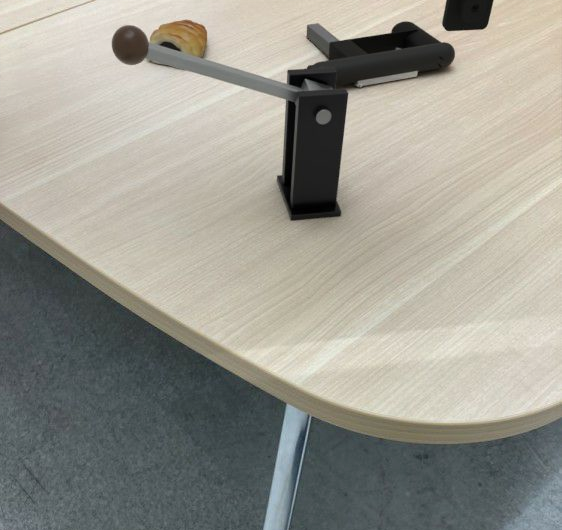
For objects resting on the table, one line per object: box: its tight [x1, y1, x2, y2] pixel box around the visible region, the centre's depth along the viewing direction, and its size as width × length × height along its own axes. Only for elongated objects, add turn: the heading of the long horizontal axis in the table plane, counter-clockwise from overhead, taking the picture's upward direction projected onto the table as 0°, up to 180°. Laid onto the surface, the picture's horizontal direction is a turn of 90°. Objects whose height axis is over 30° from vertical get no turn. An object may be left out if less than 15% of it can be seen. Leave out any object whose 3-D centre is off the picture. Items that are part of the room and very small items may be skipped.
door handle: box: [306, 20, 456, 89], centre depth 100 cm, size 3×20×16 cm
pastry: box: [149, 19, 208, 66], centre depth 99 cm, size 9×7×4 cm
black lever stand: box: [276, 67, 349, 221], centre depth 74 cm, size 5×7×13 cm
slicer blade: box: [111, 24, 333, 104], centre depth 67 cm, size 20×3×3 cm, turn 102°
